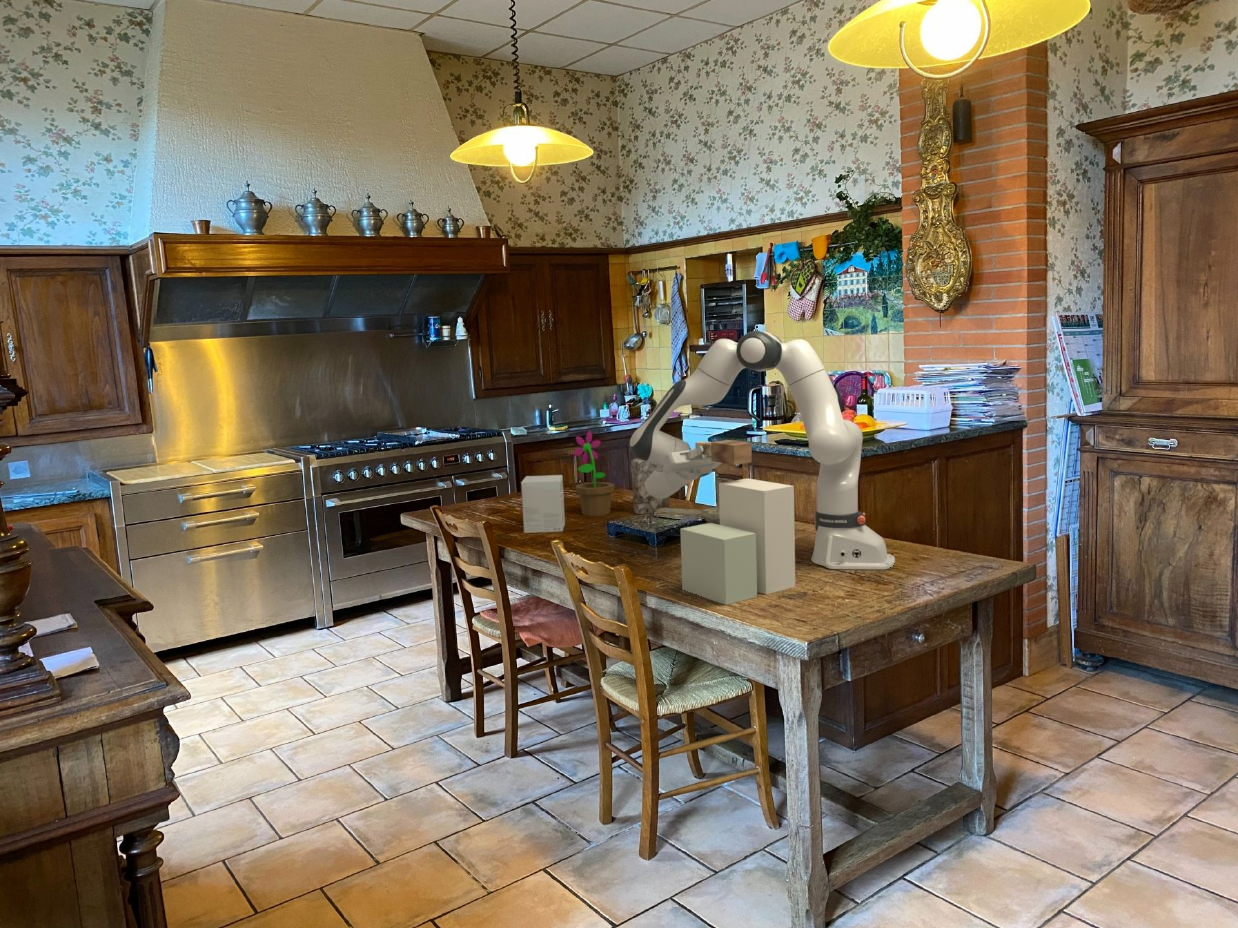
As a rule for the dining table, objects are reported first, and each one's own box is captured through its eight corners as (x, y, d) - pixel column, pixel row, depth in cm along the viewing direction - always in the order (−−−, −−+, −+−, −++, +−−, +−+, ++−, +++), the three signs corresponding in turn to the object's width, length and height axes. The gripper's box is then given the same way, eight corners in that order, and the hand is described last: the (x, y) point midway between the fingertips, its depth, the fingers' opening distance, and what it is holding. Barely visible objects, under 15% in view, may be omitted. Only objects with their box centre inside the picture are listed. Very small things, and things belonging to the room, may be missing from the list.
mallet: (691, 457, 248) (690, 439, 247) (708, 455, 251) (708, 437, 250) (734, 464, 234) (733, 445, 233) (751, 462, 237) (751, 443, 236)
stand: (682, 589, 233) (679, 489, 229) (749, 573, 246) (747, 478, 242) (726, 604, 219) (723, 498, 215) (795, 586, 232) (793, 485, 228)
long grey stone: (663, 517, 331) (649, 524, 323) (661, 503, 330) (648, 509, 322) (752, 519, 313) (740, 526, 304) (751, 504, 312) (739, 511, 304)
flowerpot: (600, 507, 346) (597, 428, 342) (623, 512, 335) (619, 431, 330) (569, 513, 338) (565, 432, 334) (591, 518, 326) (587, 435, 322)
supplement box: (565, 523, 320) (563, 474, 317) (562, 531, 307) (560, 480, 304) (528, 525, 320) (525, 475, 318) (523, 533, 307) (520, 482, 304)
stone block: (640, 515, 327) (638, 460, 324) (631, 512, 333) (629, 458, 331) (672, 511, 333) (670, 457, 331) (662, 508, 340) (660, 455, 337)
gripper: (649, 461, 252) (675, 440, 241) (706, 453, 263) (733, 433, 252) (656, 482, 250) (683, 462, 239) (714, 473, 261) (741, 453, 250)
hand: (709, 447), depth 246 cm, fingers closed on mallet, 3 cm apart
